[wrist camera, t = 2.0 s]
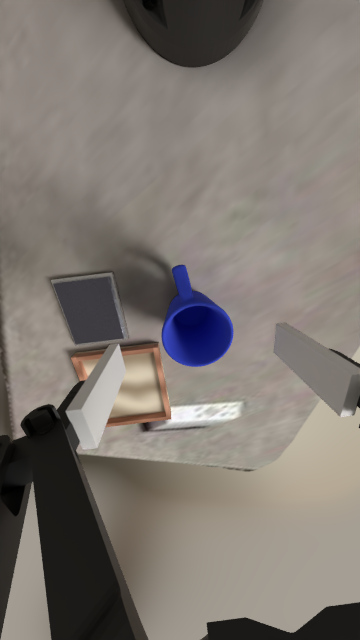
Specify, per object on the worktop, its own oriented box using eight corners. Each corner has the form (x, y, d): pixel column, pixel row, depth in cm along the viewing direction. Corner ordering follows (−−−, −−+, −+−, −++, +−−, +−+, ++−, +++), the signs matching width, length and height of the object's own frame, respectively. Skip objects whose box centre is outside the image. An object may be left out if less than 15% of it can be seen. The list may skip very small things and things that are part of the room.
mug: (202, 252, 26) (219, 254, 17) (218, 324, 31) (239, 357, 21) (149, 268, 27) (138, 278, 18) (172, 337, 31) (173, 374, 22)
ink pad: (53, 279, 27) (47, 280, 26) (113, 271, 27) (110, 273, 26) (77, 343, 31) (73, 347, 30) (129, 337, 31) (127, 340, 30)
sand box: (76, 352, 32) (70, 358, 30) (158, 342, 31) (157, 347, 30) (102, 419, 38) (98, 427, 36) (171, 411, 38) (171, 419, 36)
